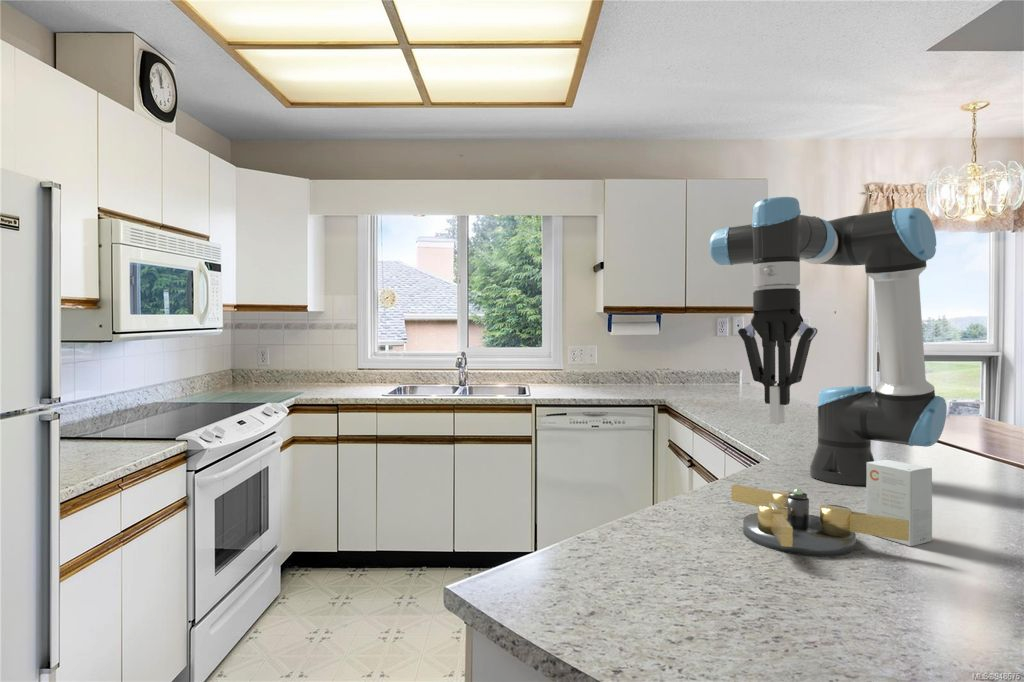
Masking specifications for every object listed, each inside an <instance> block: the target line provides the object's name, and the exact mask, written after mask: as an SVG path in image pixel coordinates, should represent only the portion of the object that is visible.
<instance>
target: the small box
mask: <svg viewBox="0 0 1024 682" xmlns="http://www.w3.org/2000/svg"><path fill="white" fill-rule="evenodd" d="M865 487H866V490H865V491H866V502H865V505H866V506H865V507H866V508H865V510H866V511H865V514H872V515H878V516H885V517H891V518H898V519H905V520H909V540H908V541H904V540H898V539H892V538H886V537H880V536H877V537H879V538H882V539H885V540H889V541H891V542H895V543H899V544H902V545H904V546H908V547H914V546H919V545H923V544H925V543H929V542H932V540H933V468H932V467H928V466H924V465H918V464H914V463H913V464H912V463H908V462H901V461H897V460H892V459H891V460H890V459H883V460H874V461H873V462H867V482H866V485H865Z"/></svg>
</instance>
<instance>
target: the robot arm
mask: <svg viewBox="0 0 1024 682" xmlns="http://www.w3.org/2000/svg"><path fill="white" fill-rule="evenodd" d="M801 212H802V210H801V207H800V202H799V200H798V198H796V197H793V196H776V197H769V198H764V199H761V200H758V201H757V202H756V203H754V204H753V210H752V220H751V221H752V222H751V224H745V225H738V226H737V225H736V226H727V227H725V228H724V227H723V228H721V229H717V230H716V231H714V232H713V234H712V235H711V236H710V239H709V253H710V256H711V259H712V260H713V262H714V263H716V264H717V265H720V266H733V265H742V264H752V281H753V282H752V285H753V287H754V288H756V290H754V292H753V293H752V298H753V299H752V301H753V302H752V303H753V305H752V306H753V307H752V310H753V315H752V318H751V320H750V323H749V324H748V325H747V326H745V327H743V328H739V329H738V334H739V336H740V338H741V340H742V341H743V342H744V343H743V344H744V348H745V352H746V357H747V360H748V363H749V367H750V371H751V376H752V379H753V381H754V382H757V383H759V384H760V383H761V384H762V385H763V388H764V402H765V404H767V405H769V424H770V425H781V424H783V423H785V406H787V405H790V402H791V400H790V399H791V390H790V389H791V386H792V385H794V384H799V383H800V382H801V381H802V378H803V376H804V375H803V374H804V372H805V367H806V363H807V360H808V359H807V358H808V354H809V351H810V349H811V348H810V347H811V343H812V340H814V338H815V337H816V335H817V334H818V329H817V328H816V327H812V326H810V325H808V324H807V323H805V322H804V319H803V316H802V315H801V291H800V290H799V288H797V286H800V284H801V261H804V262H806V263H808V264H811V265H812V264H813V265H831V266H842V267H843V266H844V267H845V266H849V267H850V266H851V267H852V266H853V267H854V266H864V272H865V275H867V276H868V277H870V278H871V279H872V280H873V285H874V286H873V287H874V299H875V311H876V314H875V315H876V325H877V338H878V339H877V340H878V350H879V351H878V352H879V363H880V377H881V378H880V379H881V380H880V382H878V384H877V385H876V386H874V391H873V389H872V386H870V385H851V386H839V387H837V386H836V387H828V388H827V387H826V388H823V389H821V390H820V391H819V393H818V397H817V398H818V401H817V446H816V450H815V453H814V455H813V458H812V461H811V463H810V467H809V476H810V475H811V476H812V477H811V476H810V477H811V478H813V477H814V479H815V478H816V480H818V479H819V481H823V482H827V483H832V484H837V485H846V484H847V485H848V486H866V482H867V462H873V461H875V458H874V455H873V453H872V447H871V443H872V441H874V442H882V443H889V444H891V443H892V444H899V445H905V446H909V447H913V446H914V447H924V448H925V447H926V448H927V447H932V446H934V445H935V444H937V442H938V441H939V439H940V438H941V435H942V433H943V431H944V427H945V424H946V419H947V414H948V412H947V411H948V410H947V408H948V407H947V403H946V399H945V398H944V397H942V396H940V395H936V393H935V386H934V385H933V384H932V383H931V382H929V381H928V380H927V378H926V365H925V350H924V349H925V348H924V337H923V335H924V333H923V319H922V306H921V305H922V304H921V290H920V275H921V273H923V272H924V271H925V270H926V269H927V261H928V260H929V261H930V260H931V259H933V258H934V257H935V254H936V251H937V237H936V232H935V228H934V224H933V222H932V220H931V218H930V216H929V215H928V214H927V213H926V211H925V210H923V209H921V208H919V207H903V208H898V207H897V208H894V209H888V210H882V211H875V212H869V213H862V214H855V215H854V214H853V215H848V216H843V217H839V218H835V219H831V220H825V219H822V218H820V217H819V216H814V215H813V216H810V215H805V214H801ZM756 333H757V334H758V336H759V338H761V347H762V352H763V353H762V359H763V360H762V359H761V355H760V351H759V347H758V343H757V339H756V337H755V336H756ZM796 333H798V335H799V336H800V338H799V339H798V343H797V345H796V347H797V348H796V351H795V356H794V358H793V363H791V347H792V339H793V338H794V336H795V335H796ZM776 346H777V356H778V357H777V360H778V362H777V365H778V367H777V368H778V380H776ZM762 362H763V363H762ZM791 364H792V367H791ZM847 485H846V486H847Z"/></svg>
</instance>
